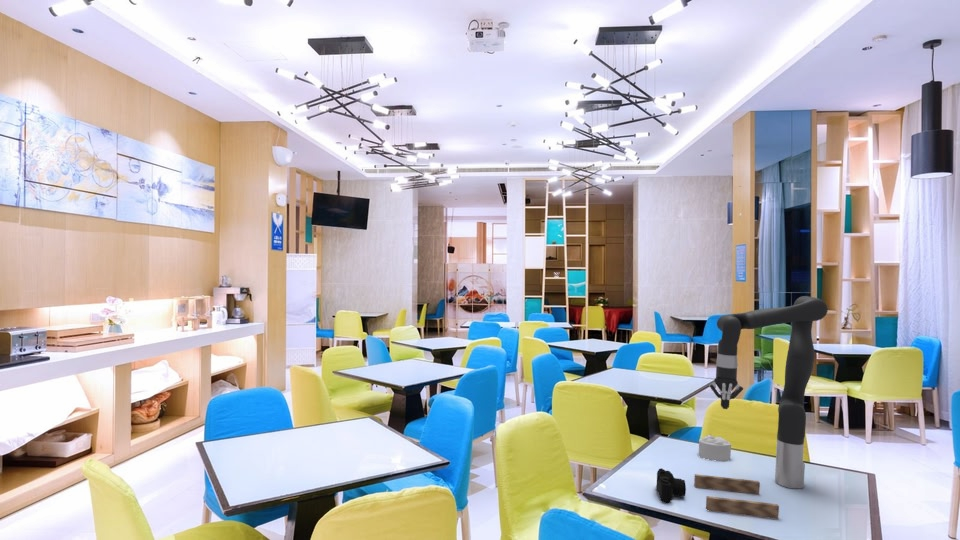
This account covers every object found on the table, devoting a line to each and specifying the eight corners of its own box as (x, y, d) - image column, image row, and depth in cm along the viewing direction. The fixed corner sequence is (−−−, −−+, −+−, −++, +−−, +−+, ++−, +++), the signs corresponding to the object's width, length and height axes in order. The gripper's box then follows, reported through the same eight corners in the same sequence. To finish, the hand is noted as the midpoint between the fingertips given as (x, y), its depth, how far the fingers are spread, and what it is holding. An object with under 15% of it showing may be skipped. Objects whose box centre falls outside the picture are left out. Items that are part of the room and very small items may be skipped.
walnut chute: (757, 492, 200) (758, 481, 200) (778, 519, 180) (778, 506, 179) (694, 485, 204) (694, 474, 204) (706, 510, 184) (707, 497, 184)
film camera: (688, 506, 187) (689, 481, 186) (659, 503, 188) (660, 478, 188) (680, 488, 201) (681, 465, 201) (654, 485, 203) (655, 462, 203)
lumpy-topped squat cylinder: (733, 461, 232) (734, 441, 232) (705, 461, 231) (706, 441, 231) (719, 452, 243) (720, 433, 242) (693, 452, 241) (694, 434, 241)
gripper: (741, 365, 212) (739, 407, 212) (707, 362, 215) (705, 404, 215) (747, 368, 205) (745, 412, 205) (711, 366, 207) (709, 409, 208)
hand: (724, 408), depth 210 cm, fingers closed
